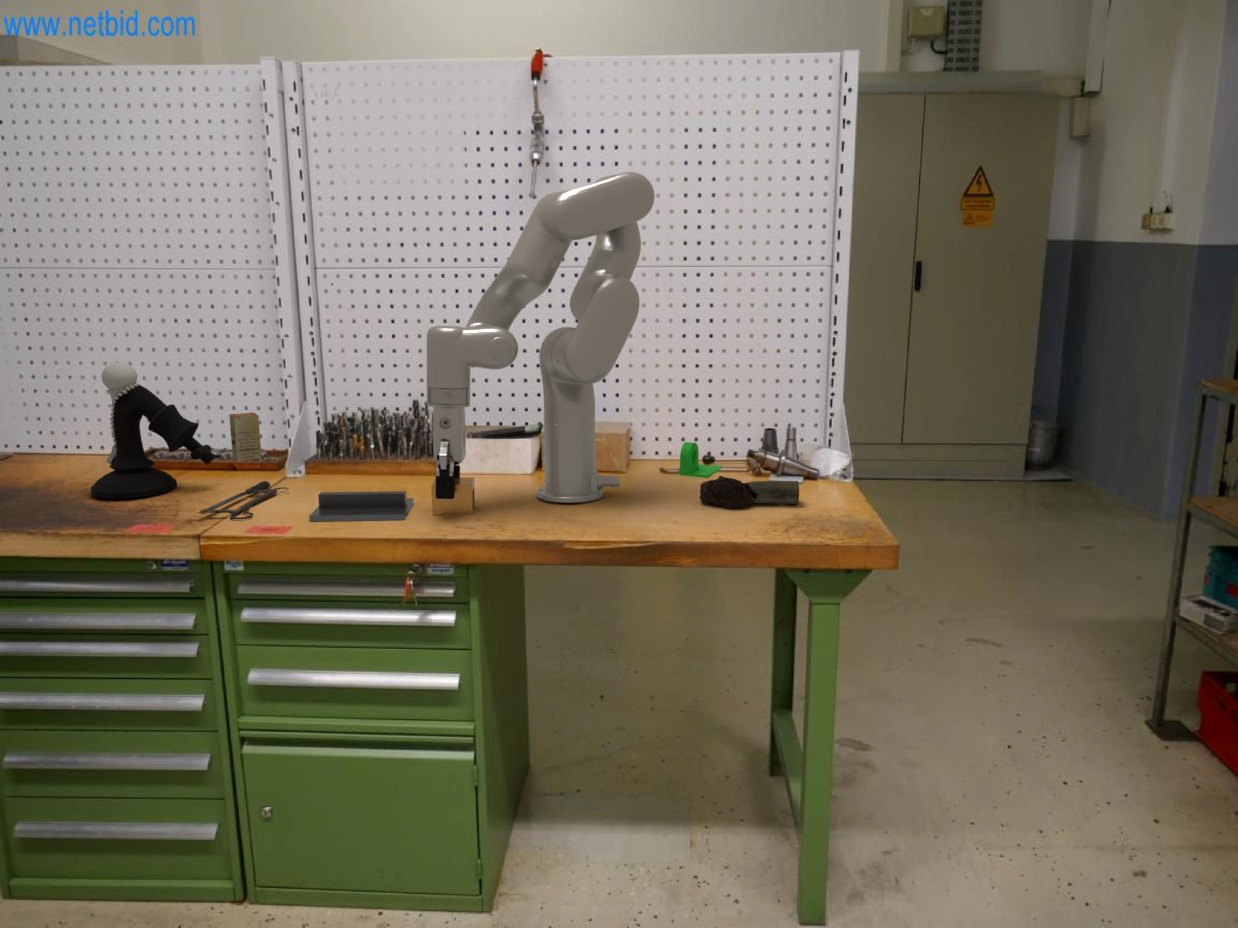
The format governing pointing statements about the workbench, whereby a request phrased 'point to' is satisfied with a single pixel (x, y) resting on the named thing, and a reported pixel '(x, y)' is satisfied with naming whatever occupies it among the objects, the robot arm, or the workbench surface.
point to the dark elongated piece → (748, 492)
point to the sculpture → (128, 453)
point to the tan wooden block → (455, 499)
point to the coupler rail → (361, 513)
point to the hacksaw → (254, 489)
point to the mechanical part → (694, 462)
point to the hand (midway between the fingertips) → (448, 492)
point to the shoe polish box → (245, 436)
